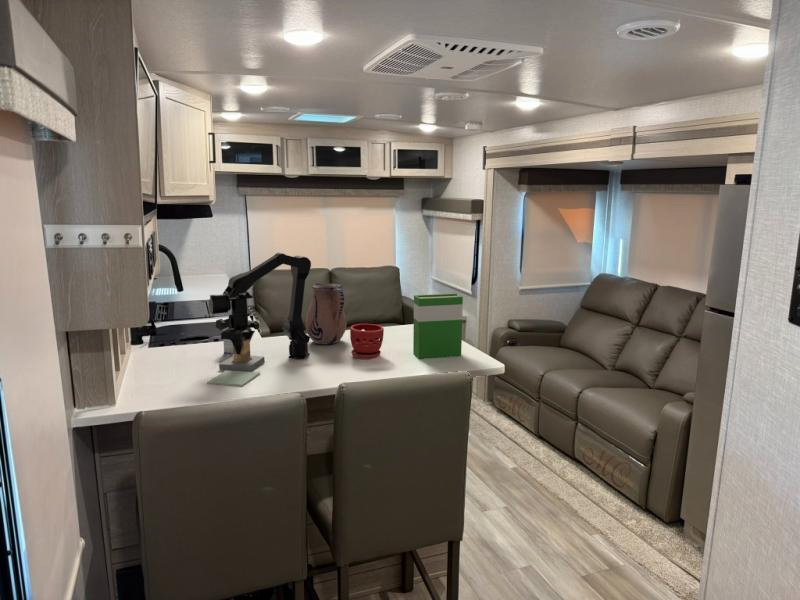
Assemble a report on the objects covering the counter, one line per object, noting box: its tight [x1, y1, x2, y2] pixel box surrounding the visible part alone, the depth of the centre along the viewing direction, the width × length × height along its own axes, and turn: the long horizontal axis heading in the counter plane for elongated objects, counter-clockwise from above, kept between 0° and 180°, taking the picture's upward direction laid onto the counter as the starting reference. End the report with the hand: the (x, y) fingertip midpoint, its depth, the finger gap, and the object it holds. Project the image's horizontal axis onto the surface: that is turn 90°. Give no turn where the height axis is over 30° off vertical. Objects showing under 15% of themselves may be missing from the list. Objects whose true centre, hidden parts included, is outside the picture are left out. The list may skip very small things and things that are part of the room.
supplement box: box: [222, 327, 233, 355], centre depth 219 cm, size 6×6×12 cm
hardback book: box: [412, 293, 464, 360], centre depth 215 cm, size 18×7×24 cm, turn 104°
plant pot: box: [349, 323, 385, 360], centre depth 214 cm, size 13×13×12 cm
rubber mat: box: [206, 370, 261, 387], centre depth 188 cm, size 13×13×1 cm
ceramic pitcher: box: [305, 283, 347, 345], centre depth 232 cm, size 18×21×25 cm
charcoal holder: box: [218, 355, 266, 372], centre depth 202 cm, size 12×12×2 cm
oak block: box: [232, 339, 252, 363], centre depth 201 cm, size 4×4×8 cm
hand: (241, 352), depth 201 cm, fingers closed on oak block, 4 cm apart
